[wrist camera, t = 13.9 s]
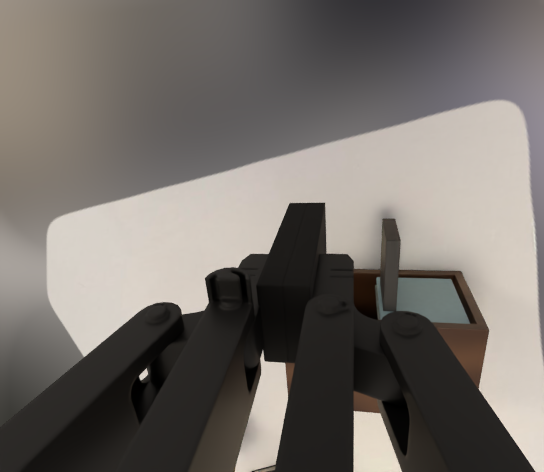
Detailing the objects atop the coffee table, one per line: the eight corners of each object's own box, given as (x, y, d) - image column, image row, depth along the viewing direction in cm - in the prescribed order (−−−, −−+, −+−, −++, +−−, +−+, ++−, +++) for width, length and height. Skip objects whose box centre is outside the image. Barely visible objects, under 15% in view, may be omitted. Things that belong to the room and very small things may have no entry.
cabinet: (295, 267, 46) (281, 320, 37) (461, 271, 43) (489, 330, 34) (300, 342, 51) (288, 405, 42) (450, 351, 47) (472, 421, 38)
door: (378, 213, 40) (383, 247, 33) (459, 212, 39) (482, 248, 32) (376, 281, 44) (380, 325, 37) (450, 283, 42) (469, 329, 35)
